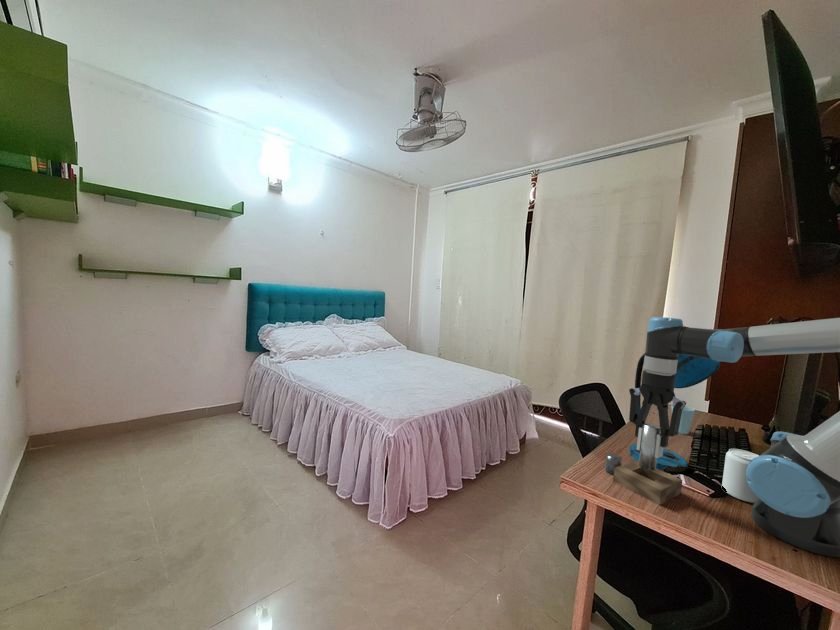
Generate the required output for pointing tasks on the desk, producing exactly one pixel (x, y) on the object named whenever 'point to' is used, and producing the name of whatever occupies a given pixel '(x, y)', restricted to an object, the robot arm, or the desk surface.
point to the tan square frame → (648, 482)
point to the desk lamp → (686, 376)
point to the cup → (685, 419)
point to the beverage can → (738, 475)
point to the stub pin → (612, 462)
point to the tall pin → (648, 446)
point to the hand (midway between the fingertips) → (649, 452)
